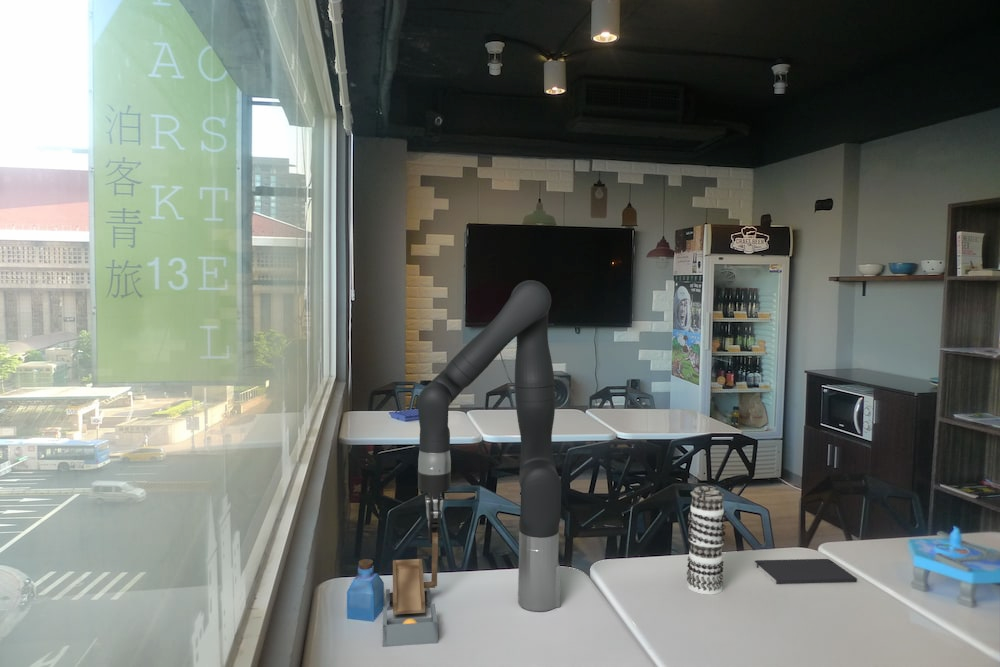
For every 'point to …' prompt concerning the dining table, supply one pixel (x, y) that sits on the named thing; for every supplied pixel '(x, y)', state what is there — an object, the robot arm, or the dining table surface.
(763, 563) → the notebook
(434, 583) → the lever
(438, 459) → the robot arm
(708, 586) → the decorative candle
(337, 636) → the dining table surface
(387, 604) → the fulcrum
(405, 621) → the ball
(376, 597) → the perfume bottle
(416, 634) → the tray
